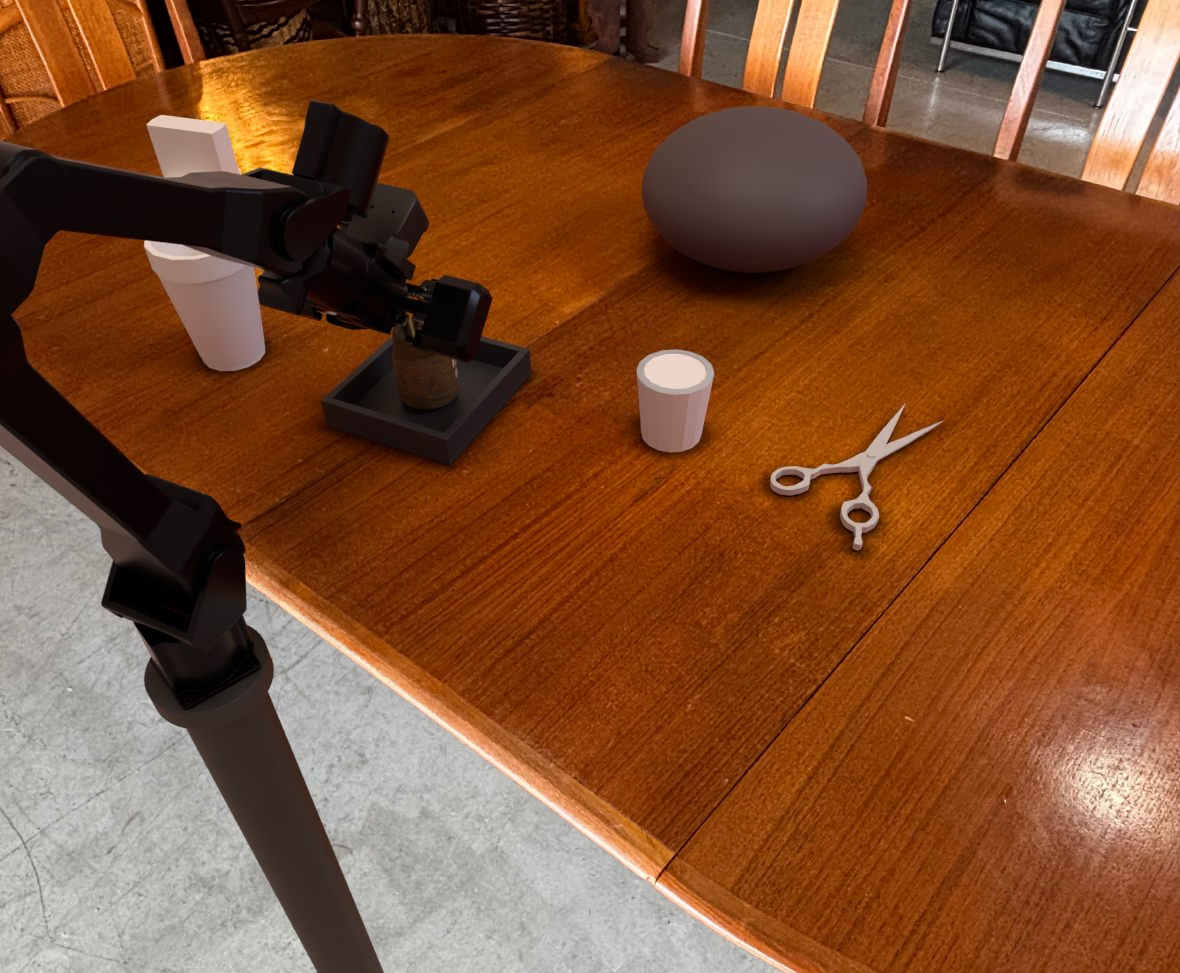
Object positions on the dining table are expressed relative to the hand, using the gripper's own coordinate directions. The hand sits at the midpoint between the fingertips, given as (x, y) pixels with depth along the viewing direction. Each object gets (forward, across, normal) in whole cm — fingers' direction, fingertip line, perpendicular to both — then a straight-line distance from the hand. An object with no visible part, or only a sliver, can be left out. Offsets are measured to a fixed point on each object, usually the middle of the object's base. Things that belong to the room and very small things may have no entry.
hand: (428, 326), depth 91 cm
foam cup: (+3, +23, +8) cm, 24 cm away
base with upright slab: (+18, +43, -8) cm, 47 cm away
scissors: (+10, -41, 0) cm, 42 cm away
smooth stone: (+33, -18, -23) cm, 44 cm away
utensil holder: (+4, 0, +6) cm, 7 cm away
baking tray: (+4, 0, +6) cm, 8 cm away
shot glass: (+8, -23, +3) cm, 25 cm away
